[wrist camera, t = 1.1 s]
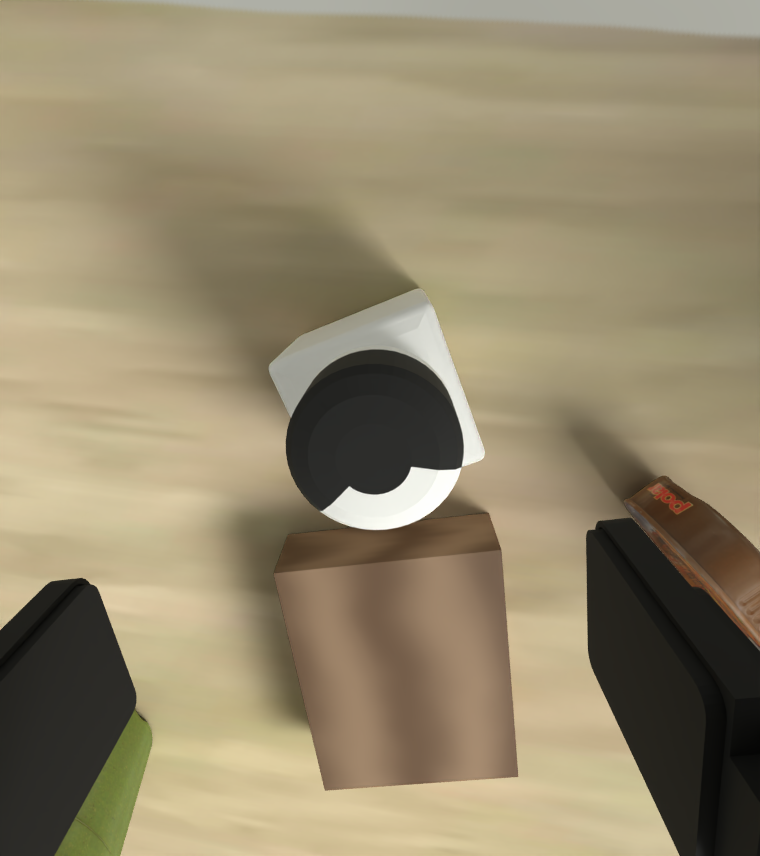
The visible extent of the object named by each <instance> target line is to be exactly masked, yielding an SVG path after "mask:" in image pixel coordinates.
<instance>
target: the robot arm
mask: <svg viewBox="0 0 760 856" xmlns="http://www.w3.org/2000/svg"><path fill="white" fill-rule="evenodd" d="M586 556H587V622H588V654H589V659H590V663H591V666H592V669H593V672H594V674H595V676H596V678H597V680H598V682H599V684H600V687H601V689H602V691H603V693H604V695H605V697H606V699H607V701H608V704H609V706H610V708H611V710H612V712H613V714H614V716H615V719H616V721H617V723H618V725H619V727H620V729H621V731H622V733H623V736H624V738H625V740H626V742H627V744H628V746H629V748H630V751H631V753H632V755H633V757H634V759H635V761H636V763H637V765H638V768H639V770H640V772H641V774H642V776H643V778H644V780H645V782H646V785H647V787H648V789H649V791H650V793H651V795H652V797H653V800H654V802H655V804H656V806H657V808H658V810H659V812H660V814H661V817H662V819H663V821H664V823H665V825H666V827H667V829H668V832H669V834H670V836H671V838H672V840H673V842H674V844H675V846H676V849H677V851H678V853H679V855H680V856H760V651H759V650H758V648H757V647H756V646H755V645H754V644H753V643H752V642H751V641H750V640H749V638H748V637H747V636H746V635H745V634H744V633H743V632H742V631H741V630H740V628H739V627H738V626H737V625H736V624H735V623H734V622H733V621H732V620H731V618H730V617H729V616H728V615H727V614H726V613H725V612H724V611H723V610H722V608H721V607H720V606H719V605H718V604H717V603H716V602H715V601H714V600H713V598H712V597H711V596H710V595H709V594H708V593H707V592H706V591H704V590H703V589H702V588H699V587H692V586H691V585H690V584H689V583H688V582H687V581H686V579H685V578H684V577H683V576H682V575H681V574H680V573H679V571H678V570H677V569H676V568H675V567H674V566H673V564H672V563H671V562H670V561H669V560H668V559H667V558H666V556H665V555H664V554H663V553H662V552H661V551H660V550H659V548H658V547H657V546H656V545H655V544H654V543H653V542H652V540H651V539H650V538H649V537H648V536H647V535H646V533H645V532H644V531H643V530H642V529H641V528H640V527H639V525H638V524H637V523H636V522H635V521H634V520H633V519H632V518H624V519H615V520H605V521H598V522H597V524H596V530H588V532H587V535H586ZM135 706H136V692H135V688H134V686H133V683H132V680H131V677H130V675H129V672H128V669H127V667H126V664H125V661H124V658H123V656H122V653H121V650H120V648H119V645H118V642H117V639H116V637H115V634H114V631H113V629H112V626H111V623H110V620H109V618H108V615H107V612H106V610H105V607H104V604H103V601H102V599H101V596H100V593H99V591H98V589H97V587H95V586H94V585H90V583H89V582H88V581H87V580H86V579H83V578H77V579H68V580H59V581H52V582H50V583H48V584H47V585H46V586H45V587H44V588H43V589H42V590H41V591H40V592H39V593H38V594H37V595H36V596H35V597H34V598H33V599H32V600H30V601H29V602H28V603H27V604H26V605H25V606H24V607H23V608H22V609H21V610H20V611H19V612H18V613H17V614H16V615H15V616H14V617H13V618H12V619H11V620H10V621H9V622H8V623H7V624H6V625H5V626H4V627H3V628H2V629H1V630H0V856H55V854H56V852H57V850H58V848H59V846H60V845H61V843H62V841H63V839H64V837H65V836H66V834H67V832H68V830H69V828H70V827H71V825H72V823H73V821H74V819H75V817H76V816H77V814H78V812H79V810H80V808H81V807H82V805H83V803H84V801H85V799H86V798H87V796H88V794H89V792H90V790H91V789H92V787H93V785H94V783H95V781H96V779H97V778H98V776H99V774H100V772H101V770H102V769H103V767H104V765H105V763H106V761H107V760H108V758H109V756H110V754H111V752H112V750H113V749H114V747H115V745H116V743H117V741H118V740H119V738H120V736H121V734H122V732H123V731H124V729H125V727H126V725H127V723H128V721H129V720H130V718H131V716H132V714H133V712H134V710H135Z"/></svg>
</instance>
